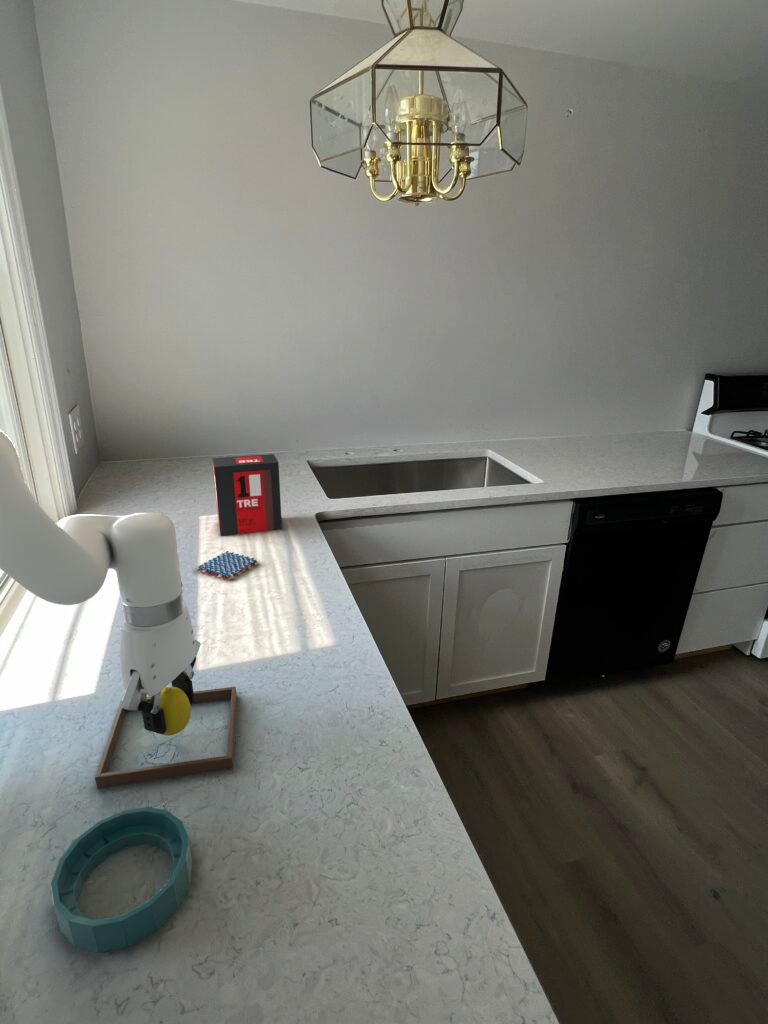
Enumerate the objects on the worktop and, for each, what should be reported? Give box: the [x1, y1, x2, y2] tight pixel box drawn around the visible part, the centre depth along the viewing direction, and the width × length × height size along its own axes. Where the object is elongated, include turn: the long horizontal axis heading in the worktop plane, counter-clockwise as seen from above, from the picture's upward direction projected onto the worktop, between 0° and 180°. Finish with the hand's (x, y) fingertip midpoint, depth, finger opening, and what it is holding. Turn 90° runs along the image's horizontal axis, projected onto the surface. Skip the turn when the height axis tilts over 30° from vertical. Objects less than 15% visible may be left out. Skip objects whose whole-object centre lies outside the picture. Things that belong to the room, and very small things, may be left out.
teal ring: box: [50, 806, 193, 954], centre depth 60 cm, size 13×13×4 cm
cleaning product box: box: [212, 453, 283, 537], centre depth 153 cm, size 16×9×20 cm, turn 108°
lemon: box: [159, 686, 192, 736], centre depth 79 cm, size 6×6×8 cm
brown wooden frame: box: [94, 686, 238, 790], centre depth 81 cm, size 17×15×2 cm
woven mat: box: [196, 550, 258, 581], centre depth 132 cm, size 10×11×2 cm
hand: (170, 714), depth 80 cm, fingers closed on lemon, 5 cm apart
